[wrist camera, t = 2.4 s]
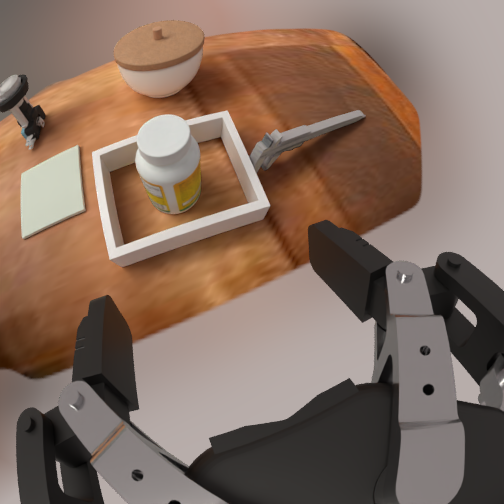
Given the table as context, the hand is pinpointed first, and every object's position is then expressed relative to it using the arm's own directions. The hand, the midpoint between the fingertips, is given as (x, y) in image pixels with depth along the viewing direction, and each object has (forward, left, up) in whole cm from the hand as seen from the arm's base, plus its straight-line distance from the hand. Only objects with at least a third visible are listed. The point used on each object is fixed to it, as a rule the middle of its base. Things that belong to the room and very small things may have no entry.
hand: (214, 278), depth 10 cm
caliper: (+22, -3, -16) cm, 27 cm away
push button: (+8, +33, -16) cm, 37 cm away
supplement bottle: (+8, +8, -16) cm, 19 cm away
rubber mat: (+2, +23, -15) cm, 28 cm away
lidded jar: (+22, +19, -16) cm, 33 cm away
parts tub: (+8, +8, -15) cm, 19 cm away
